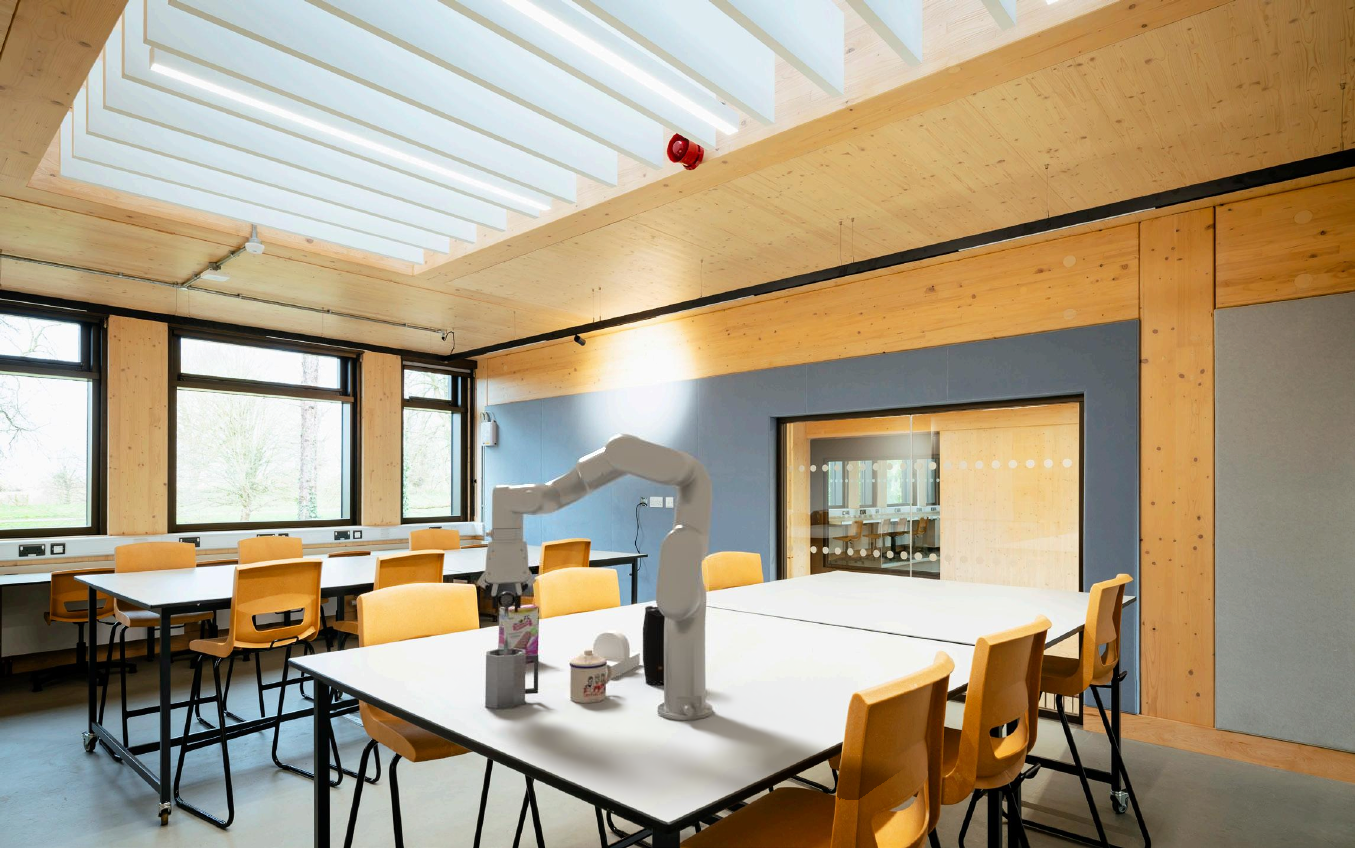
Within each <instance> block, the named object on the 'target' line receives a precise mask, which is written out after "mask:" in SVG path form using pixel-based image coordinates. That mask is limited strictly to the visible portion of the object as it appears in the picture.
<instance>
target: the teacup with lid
mask: <svg viewBox="0 0 1355 848" xmlns="http://www.w3.org/2000/svg"><path fill="white" fill-rule="evenodd" d="M583 652H584V653H581V654H579V656H577V657H574V658H572V659H571V660H570V661H569V666H570V679H569V680H570V681H569V682H570V684H569V685H570V693H569V694H570V696H569V697H570V700H571V701H572V702H575V703H579V704H593V702H594V703H598V702H602V701H604V700H605V699H606V697H607V687H606V686H607V684H609V682H610V681H611V680H612V679H611V676H612V668H611V666H610V665H608V664H607V662H606V659H604V658H602V657H599V656H597V655H596V654H593V649H589V648H588V649H584V651H583ZM606 667H607V669H608V674H607V677H606ZM601 700H602V701H601Z"/></svg>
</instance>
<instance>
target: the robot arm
mask: <svg viewBox="0 0 1355 848" xmlns="http://www.w3.org/2000/svg"><path fill="white" fill-rule="evenodd" d="M629 475H630V476H633V477H636V478H638V479H639V478H640V479H642V480H645V481H649V482H652V483H654V484H658V485H661V486H665V487H675V489H676V501H675V505H674V518H673V524H672V530H671V531H669V532H668V533H667V534H666V535H665V537H664V539H663V540H662V544H661V545H660V552H659V559H658V570H657V578H656V585H655V586H656V587H655V603H656V607H658V609H659V611H660V612H661V613H662V614H663V615H664V616H665V622H664V682H663V694H664V696H663V700H664V701H663V702H662V703H661V704H659V705H658V706H657V714H658V715H659V716H661V717H663V718H666V719H670V720H677V721H690V720H691V721H692V720H701V719H704V718H708V717H710V715H712V714H713V711H714V710H713V706H712V705H711V704H710V703H709V702H707V701H706V700H707V699H706V697H707V696H706V695H707V694H706V693H707V692H706V690H707V688H706V686H707V685H706V684H707V683H706V618H707V617H706V613H707V612H706V611H707V590H706V586H705V584H704V581H702V579H701V574H702V573H701V571H702V564H703V561H704V560H705V559H706V557H707V556H708V552H709V544H710V543H709V542H710V540H709V539H710V529H711V519H712V518H711V515H712V503H713V485H712V481H711V476H710V475H709V473H708V471H707V469H706V467H705V466H704V465H703V464H702V463H701V462H700V461H699V460H698V459H697V458H695V457H694V456H692V455H690V454H689V453H687V452H684V451H682V450H679V449H678V450H677V449H674V448H670V447H667V446H663V445H660V444H656V443H653V442H650V441H646V440H644V439H641V438H639V437H637V436H635V435H632V434H627V433H619V434H616V435H614V436H613V437H611V438H610V439H609V440H608V441H607V442H606V443H605V446H604V447H602V448H600V449H598V450H596V451H594V452H592V453H590V454H587V455H585V456H583V457H581V458H580V459H578V460H577V462H576V464H575V466H574V468H572V469H571V470H570V471H569V472H566V473H565V474H563V475H562V476H559V477H557V478H556V479H553V480H551V481H549V482H546V483H530V484H523V485H522V484H521V485H519V484H499V485H495V486H494V487H493V488H492V493H491V495H492V496H491V497H492V498H491V504H492V505H491V529H490V530H488V531H485V537H488V538H490V539H491V541H488V543H487V549H486V556H485V569H484V571H483V573H482V574H481V576H480V577H479V579H478V581H477V582H476V584H477V585H478V586H479V587H481V588H483V589H484V590H486V591H487V592H488V593H489V594H490V595H491V596H492V599H491V600H492V601H491V602H492V603H491V604H492V605H491V609H492V610H495V613H494V614H498V613H499V602H498V598H499V595H498V587H499V584H515V589H516V591H515V594H514V596H515V602H514V606H515V612H518V608H521V606H522V603H521V602H522V601H521V599H522V594H523V593H524V592H525V591H527V589H529V587H531V586H533V585H534V584H535V583H536V581H537V579H536V578H535V576H534V575H533V574H532V571H531V570H530V569H529V550H528V545H527V540H524V515H527V516H540V515H548V514H553V513H555V512H558V511H559V510H561V509H564V508H565V507H568V506H570V505H572V504H574V503H575V502H578V501H579V500H581V499H584V497H586V496H589V495H591V494H593V493H594V492H595V491H598V490H600V489H601V488H603V487H605V486H608V485H610V484H612V483H614V482H616V481H618V480H620V479H621V478H624V477H627V476H629ZM522 583H523V584H522ZM490 584H492V585H490Z"/></svg>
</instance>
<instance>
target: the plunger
mask: <svg viewBox="0 0 1355 848" xmlns="http://www.w3.org/2000/svg"><path fill="white" fill-rule="evenodd" d="M514 605H515V594H514V593H513V592H511V591H509V590H506V591H503V592H501V593H500V594H499V595H498V606H500V608H502V607H503V608H504V655H499V656H508V619H509V607H512V606H514Z"/></svg>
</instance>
